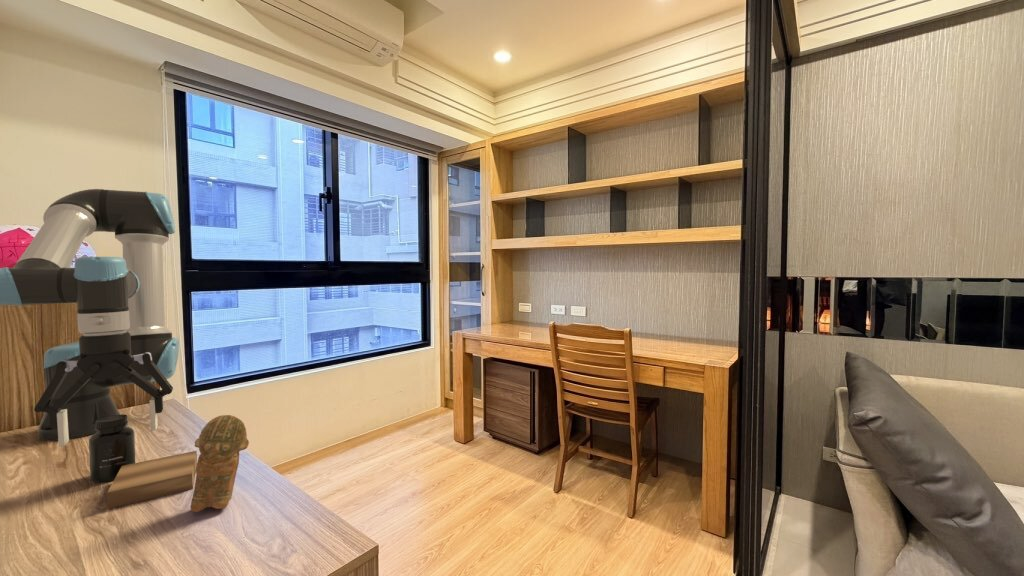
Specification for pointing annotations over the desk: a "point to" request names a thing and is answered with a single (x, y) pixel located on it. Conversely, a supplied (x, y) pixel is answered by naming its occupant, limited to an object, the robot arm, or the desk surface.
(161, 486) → the pedestal
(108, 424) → the supplement bottle
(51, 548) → the desk surface
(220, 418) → the figurine
